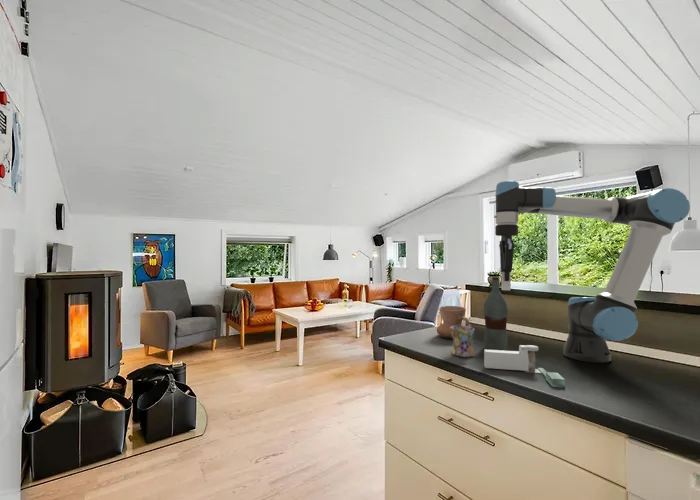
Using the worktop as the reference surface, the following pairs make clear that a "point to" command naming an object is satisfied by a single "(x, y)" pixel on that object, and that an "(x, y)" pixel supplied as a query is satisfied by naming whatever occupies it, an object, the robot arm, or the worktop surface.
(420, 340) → the worktop surface
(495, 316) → the bottle
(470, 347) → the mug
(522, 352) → the hinged leg
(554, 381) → the stool seat
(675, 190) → the robot arm
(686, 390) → the worktop surface
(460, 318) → the ceramic jug
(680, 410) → the worktop surface
